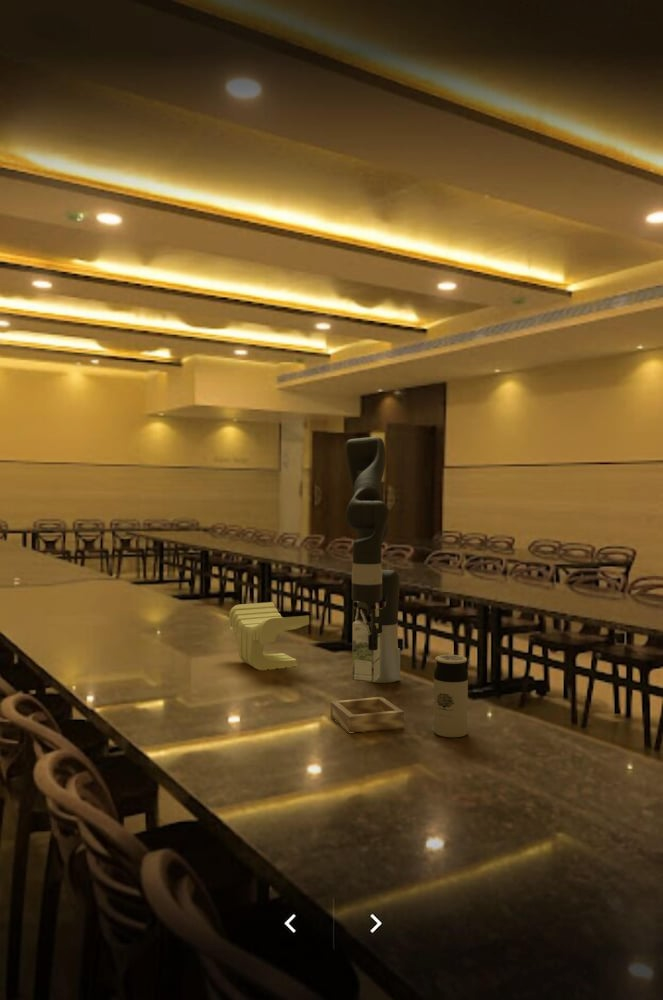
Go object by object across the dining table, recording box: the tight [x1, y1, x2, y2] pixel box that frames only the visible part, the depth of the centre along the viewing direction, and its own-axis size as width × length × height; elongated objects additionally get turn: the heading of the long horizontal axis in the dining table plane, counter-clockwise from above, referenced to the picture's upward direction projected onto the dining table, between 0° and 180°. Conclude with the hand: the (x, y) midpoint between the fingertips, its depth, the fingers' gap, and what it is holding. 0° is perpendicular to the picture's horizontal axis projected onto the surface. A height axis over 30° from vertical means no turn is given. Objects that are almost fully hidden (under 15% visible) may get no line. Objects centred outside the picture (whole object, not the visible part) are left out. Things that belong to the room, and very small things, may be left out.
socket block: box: [330, 696, 405, 733], centre depth 198 cm, size 14×14×4 cm
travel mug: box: [433, 654, 469, 739], centre depth 189 cm, size 8×8×18 cm
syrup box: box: [351, 620, 380, 683], centre depth 197 cm, size 6×6×14 cm
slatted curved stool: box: [228, 601, 310, 671], centre depth 259 cm, size 30×16×18 cm, turn 27°
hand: (366, 646), depth 197 cm, fingers closed on syrup box, 8 cm apart
